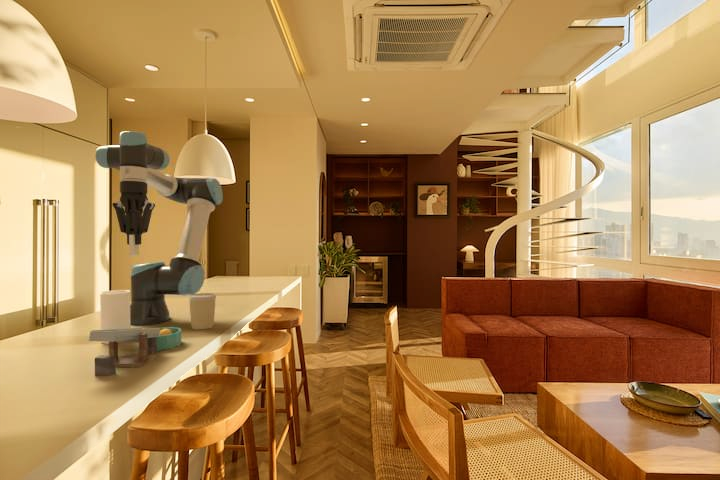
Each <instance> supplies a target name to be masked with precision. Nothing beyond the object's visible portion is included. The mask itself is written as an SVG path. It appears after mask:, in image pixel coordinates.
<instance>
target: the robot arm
mask: <svg viewBox="0 0 720 480" xmlns="http://www.w3.org/2000/svg"><path fill="white" fill-rule="evenodd" d="M170 159H171V158H170V155H169V153H168V152H167V151H166V150H164V149H162V148H161V147H159V146H155V145H151V144H149V143H148V137H147V135H146V134H145V133H143V132H140V131H133V130H132V131H131V130H125V131H121V132H120V133H119V141H118V145H103V146H102V145H101V146H99V147H98V148H97V149H96V150H95V161H96V162H97V164H98V165H99V167H102V168H104V169H115V170H117V171H119V179H120V180H121V181H119V192H120V197H119V200H118V201H116V202H112V205H111V206H112V207H113V209H114V210H115V213H116V217H117V222H118V226H119V230H120V233H123V234H126V244H127V245H129V246H128V251H129V252H128V253H129V254H128V255H129V256H140V246H141V245H142V234H144V233H145V234H146V233H148V230H149V227H150V226H149V225H150V223H151V222H150V221H151V219H152V218H151V217H152V213H153V210H154V209H155V207H156V204H155V203H154V202H153V203H152V202H151V201H150V200H149V198H148V196H147V195H148V187H150V188H152V189H154V190H155V191H156V192H157V194H159V195H160V196H162V197H164V198H166V199H168V200H171V201H172V202H176V203H180V204H184V205H187V206H188V207H189V208H188V211H187V215H186V219H185V222H184V226H183V230H182V233H181V237H180V241H179V245H178V247H177V248H178V249H177V251H176V255H175V256H174V257H172V258H171V259H170V262H169V265H166V263H165V262H164V261H156V262H155V261H154V262H148V263H147V262H146V263H140V264H134V265H133V266H132V267H131V272H130V325H134V326H137V325H139V326H142V325H143V326H144V325H153V324H159V323H163V322H167V321H168V320H169V319H170V314H171V313H170V311H169V309H168V308H169V307H168V305H167V303H166V300H165V299H166V296H168V295H169V296H170V295H171V296H173V295H174V296H190V295H193V294H198V293H199V292H200V290H201V289H202V287H203V285H204V282H205V278H206V277H205V274H206V273H205V269H204V267H202V263H201V262H200V261H199V259H200V255H201V252H202V248H203V244H204V241H205V237H206V231H207V227H208V223H209V218H210V215H211V213H212V212H214V211H215V210H216V205H221V204H222V202H223V199H224V197H223V196H224V195H223V188H222V185H221V183H220V181H219V180H218V179H216V178H212V177H210V178H209V177H204V178H203V177H194V178H193V177H175V176H173V175H172V174H165V173H164V172H162V170H164V169H167V167H168V166H169V164H170ZM165 295H166V296H165Z"/></svg>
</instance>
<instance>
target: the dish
mask: <svg viewBox="0 0 720 480" xmlns="http://www.w3.org/2000/svg"><path fill="white" fill-rule="evenodd" d="M159 328H160V331H161V330H163V329H169V330H171V332H172V334H169V335H162V336H158V335H157V337H156V351H164V350H169V349H168V348H170V349H173V348H176V346H177V347H178V346H180V345H182V328H181V327H178V326H177V327H176V326H175V327H174V326H165V327H159ZM172 347H173V348H172ZM163 349H164V350H163Z"/></svg>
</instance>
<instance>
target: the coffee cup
mask: <svg viewBox="0 0 720 480" xmlns="http://www.w3.org/2000/svg"><path fill="white" fill-rule="evenodd" d="M216 298H217V296H216V294H215V293H210V292H202V293H201V292H200V293H196V294H193V295H189V297H188V300H189V311H190V312H189V313H190V324H191V325H190V326H191V329H192V330H207V328H208V329H211V328H213V327H214V326H215V313H216V312H215V311H216Z"/></svg>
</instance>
